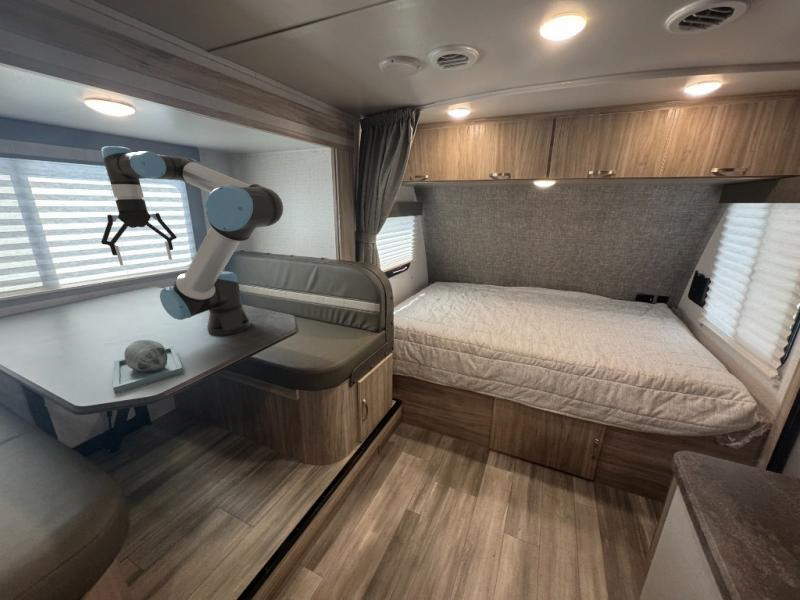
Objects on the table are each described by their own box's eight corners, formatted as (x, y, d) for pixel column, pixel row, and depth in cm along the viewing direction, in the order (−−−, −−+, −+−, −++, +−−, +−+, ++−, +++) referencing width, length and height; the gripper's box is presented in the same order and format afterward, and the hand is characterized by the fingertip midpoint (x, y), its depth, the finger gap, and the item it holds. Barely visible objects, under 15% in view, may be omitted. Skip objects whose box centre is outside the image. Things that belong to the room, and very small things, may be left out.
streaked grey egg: (179, 356, 94) (151, 333, 89) (150, 381, 89) (118, 359, 84) (168, 353, 103) (142, 332, 98) (141, 376, 98) (112, 355, 93)
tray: (175, 351, 106) (174, 345, 106) (183, 373, 92) (182, 367, 92) (116, 366, 97) (114, 361, 96) (115, 394, 83) (113, 387, 82)
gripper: (173, 198, 114) (187, 256, 120) (78, 199, 98) (99, 265, 105) (176, 198, 108) (190, 258, 115) (76, 199, 93) (98, 268, 99)
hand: (147, 262), depth 110 cm, fingers open, 13 cm apart
